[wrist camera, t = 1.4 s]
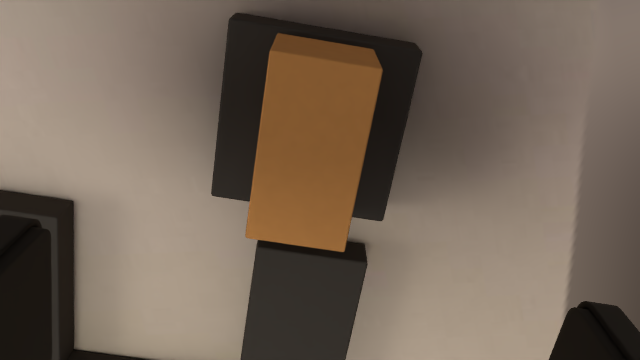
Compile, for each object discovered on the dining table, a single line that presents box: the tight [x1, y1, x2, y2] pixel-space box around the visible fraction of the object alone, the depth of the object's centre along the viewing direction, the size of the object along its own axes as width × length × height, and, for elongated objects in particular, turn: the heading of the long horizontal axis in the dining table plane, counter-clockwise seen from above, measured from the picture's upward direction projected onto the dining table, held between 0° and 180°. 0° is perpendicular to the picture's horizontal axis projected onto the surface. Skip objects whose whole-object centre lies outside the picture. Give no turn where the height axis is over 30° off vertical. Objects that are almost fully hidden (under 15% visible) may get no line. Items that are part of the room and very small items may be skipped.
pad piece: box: [211, 13, 422, 252], centre depth 19 cm, size 6×6×4 cm
